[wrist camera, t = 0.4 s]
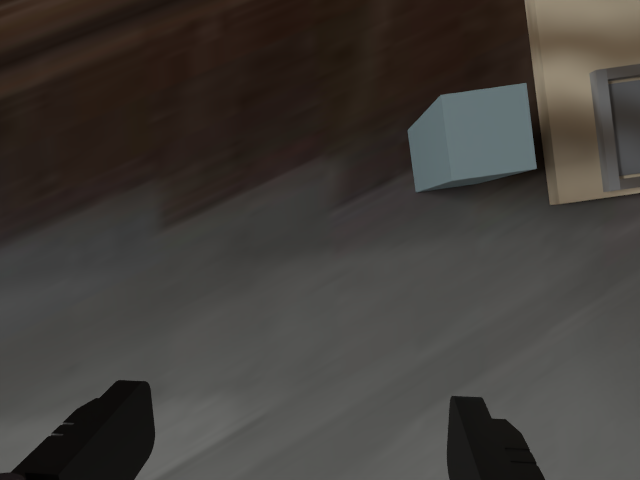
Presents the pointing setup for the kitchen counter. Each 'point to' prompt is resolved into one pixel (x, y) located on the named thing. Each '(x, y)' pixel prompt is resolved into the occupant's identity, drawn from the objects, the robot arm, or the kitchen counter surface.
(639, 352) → the kitchen counter surface
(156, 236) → the kitchen counter surface
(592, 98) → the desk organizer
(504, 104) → the pillar
